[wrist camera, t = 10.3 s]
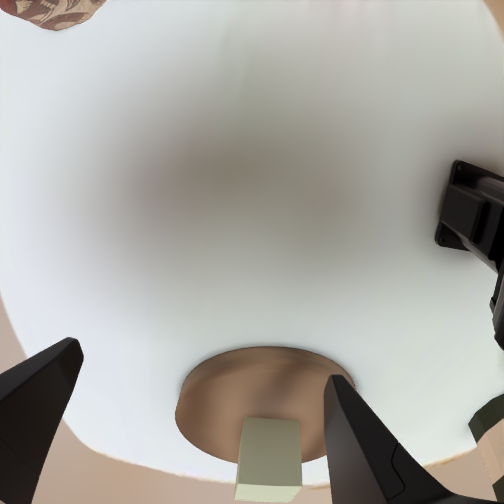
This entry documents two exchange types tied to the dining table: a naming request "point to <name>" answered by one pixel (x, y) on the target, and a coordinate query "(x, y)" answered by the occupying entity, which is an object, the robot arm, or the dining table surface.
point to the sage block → (269, 460)
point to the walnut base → (255, 398)
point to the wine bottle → (491, 441)
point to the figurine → (52, 11)
